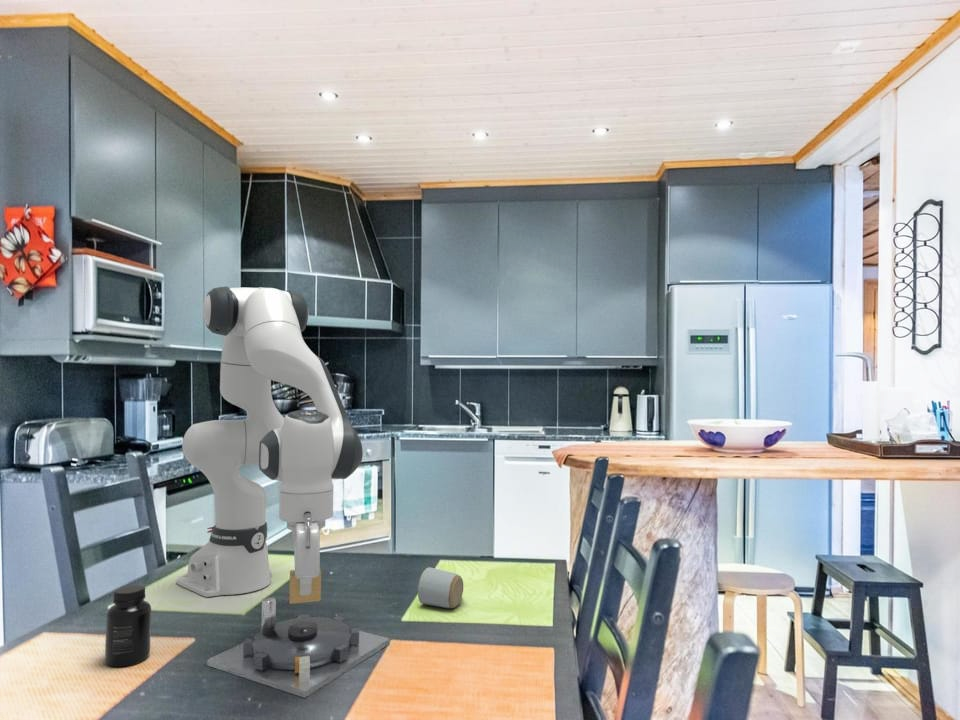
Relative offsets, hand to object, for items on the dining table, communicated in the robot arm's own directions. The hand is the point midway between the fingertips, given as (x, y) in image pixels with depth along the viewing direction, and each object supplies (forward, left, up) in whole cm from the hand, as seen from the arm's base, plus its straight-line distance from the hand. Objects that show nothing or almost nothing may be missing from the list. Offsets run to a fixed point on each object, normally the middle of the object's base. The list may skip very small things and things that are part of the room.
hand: (305, 589), depth 103 cm
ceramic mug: (+4, +38, -14) cm, 41 cm away
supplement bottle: (-29, -12, -14) cm, 34 cm away
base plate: (-4, +4, -13) cm, 15 cm away
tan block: (0, 0, -2) cm, 2 cm away
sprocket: (-4, +4, -12) cm, 14 cm away
